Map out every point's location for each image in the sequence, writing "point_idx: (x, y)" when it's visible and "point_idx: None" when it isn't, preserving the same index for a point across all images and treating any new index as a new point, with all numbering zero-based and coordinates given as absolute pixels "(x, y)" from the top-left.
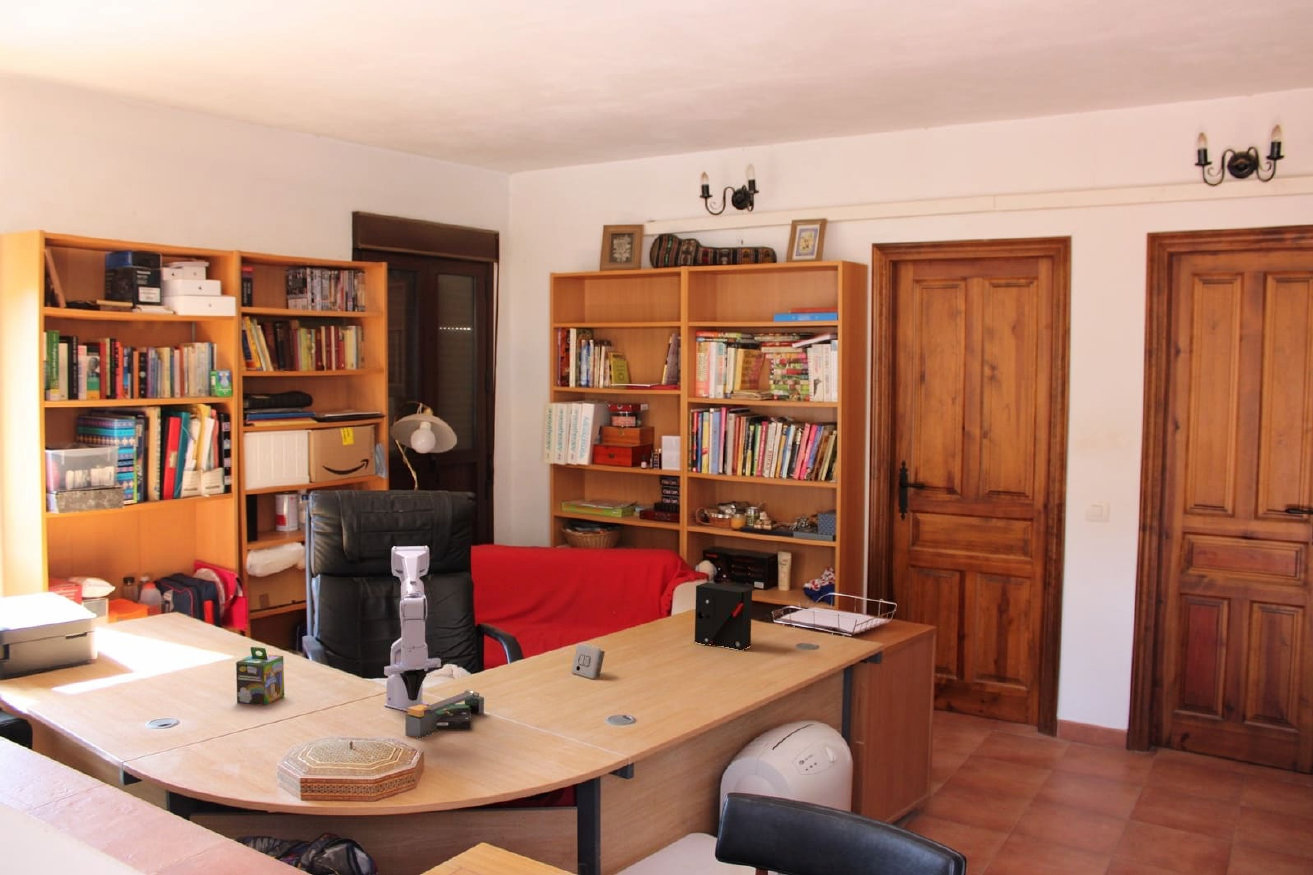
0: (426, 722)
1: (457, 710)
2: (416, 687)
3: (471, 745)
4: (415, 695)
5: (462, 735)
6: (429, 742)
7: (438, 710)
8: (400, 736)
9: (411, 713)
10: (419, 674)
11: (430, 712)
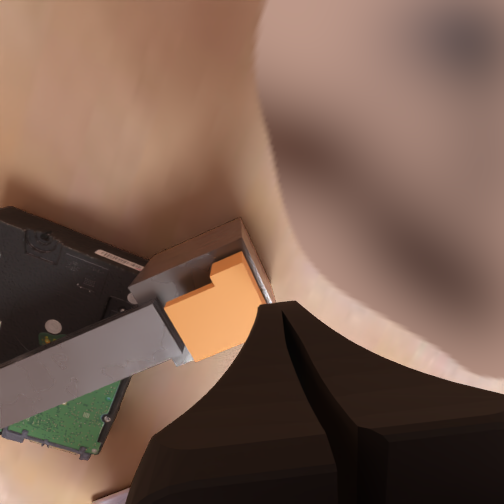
0: (202, 246)
1: None
2: (286, 351)
3: (62, 5)
4: (281, 312)
5: (66, 165)
6: (223, 157)
7: (90, 398)
8: (292, 278)
9: (265, 303)
10: (319, 452)
11: (159, 302)
